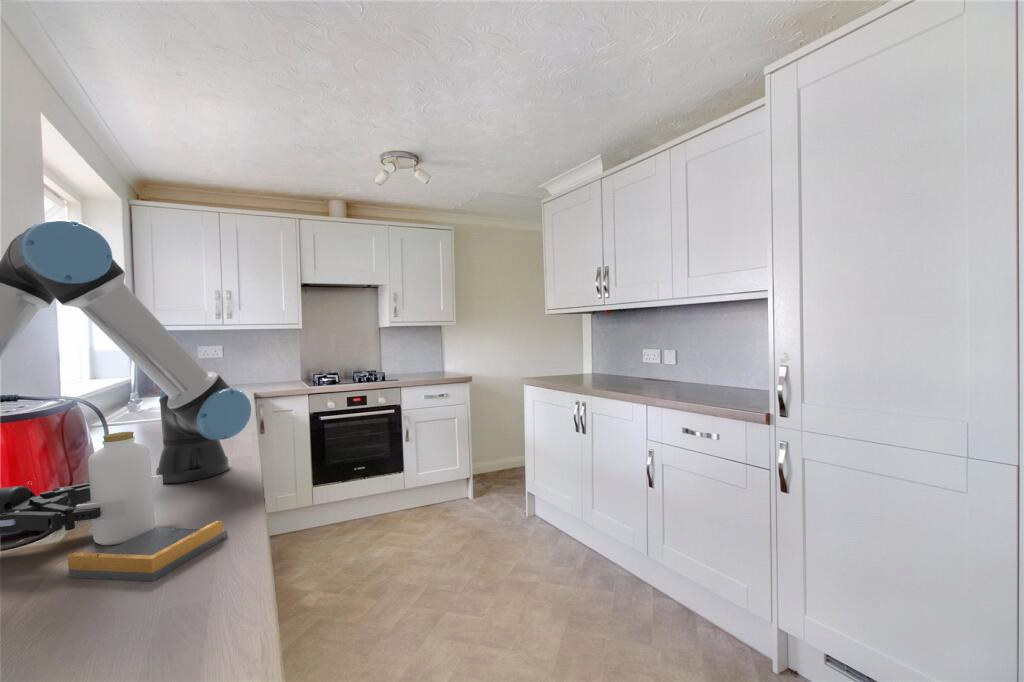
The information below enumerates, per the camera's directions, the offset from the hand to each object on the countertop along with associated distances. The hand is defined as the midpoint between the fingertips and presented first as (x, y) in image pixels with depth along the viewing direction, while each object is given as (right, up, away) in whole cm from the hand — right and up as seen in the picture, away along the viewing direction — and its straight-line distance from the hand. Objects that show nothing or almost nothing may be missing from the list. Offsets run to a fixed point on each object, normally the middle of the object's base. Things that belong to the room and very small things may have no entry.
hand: (146, 494), depth 83 cm
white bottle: (-3, -7, -1) cm, 8 cm away
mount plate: (+8, -7, -8) cm, 14 cm away
